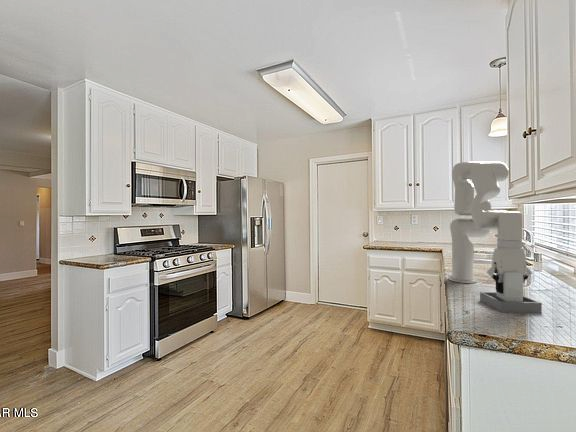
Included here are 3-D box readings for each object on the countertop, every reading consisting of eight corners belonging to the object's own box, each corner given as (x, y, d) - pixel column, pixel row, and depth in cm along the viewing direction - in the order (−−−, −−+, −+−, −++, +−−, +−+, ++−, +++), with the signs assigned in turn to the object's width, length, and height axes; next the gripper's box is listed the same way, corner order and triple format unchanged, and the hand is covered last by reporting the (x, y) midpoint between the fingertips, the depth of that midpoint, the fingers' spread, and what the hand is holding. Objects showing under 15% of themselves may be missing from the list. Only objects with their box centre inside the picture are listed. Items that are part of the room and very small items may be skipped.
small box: (523, 302, 111) (523, 273, 111) (505, 301, 113) (506, 273, 112) (511, 296, 119) (512, 269, 119) (495, 295, 120) (496, 268, 120)
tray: (480, 300, 123) (480, 292, 123) (516, 301, 122) (516, 292, 122) (500, 312, 110) (501, 302, 110) (541, 312, 109) (541, 302, 109)
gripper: (526, 243, 119) (526, 290, 119) (479, 243, 120) (479, 289, 120) (541, 245, 111) (540, 295, 112) (491, 245, 112) (490, 295, 113)
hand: (509, 292), depth 116 cm, fingers closed on small box, 6 cm apart
